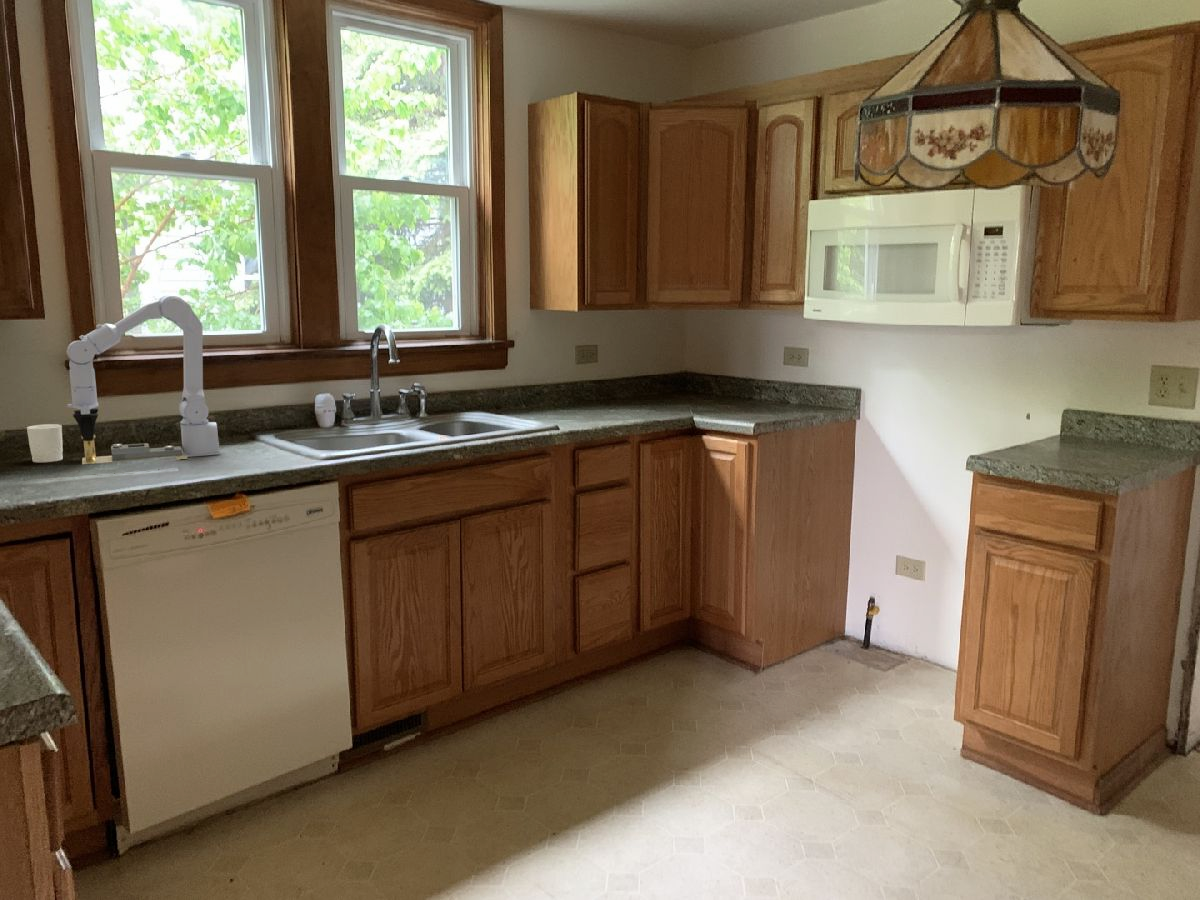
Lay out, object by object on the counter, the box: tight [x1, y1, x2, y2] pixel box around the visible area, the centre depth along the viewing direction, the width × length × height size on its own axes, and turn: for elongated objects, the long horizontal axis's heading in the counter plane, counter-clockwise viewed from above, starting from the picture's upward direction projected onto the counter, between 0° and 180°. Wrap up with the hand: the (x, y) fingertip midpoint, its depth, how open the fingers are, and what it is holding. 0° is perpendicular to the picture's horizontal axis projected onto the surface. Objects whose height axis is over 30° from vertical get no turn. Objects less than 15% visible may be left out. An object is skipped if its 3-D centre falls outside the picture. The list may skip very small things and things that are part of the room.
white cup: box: [26, 423, 64, 463], centre depth 240 cm, size 8×8×10 cm
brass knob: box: [81, 434, 97, 461], centre depth 239 cm, size 3×3×7 cm
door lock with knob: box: [81, 442, 189, 465], centre depth 245 cm, size 25×10×5 cm, turn 119°
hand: (88, 438), depth 239 cm, fingers open, 7 cm apart
